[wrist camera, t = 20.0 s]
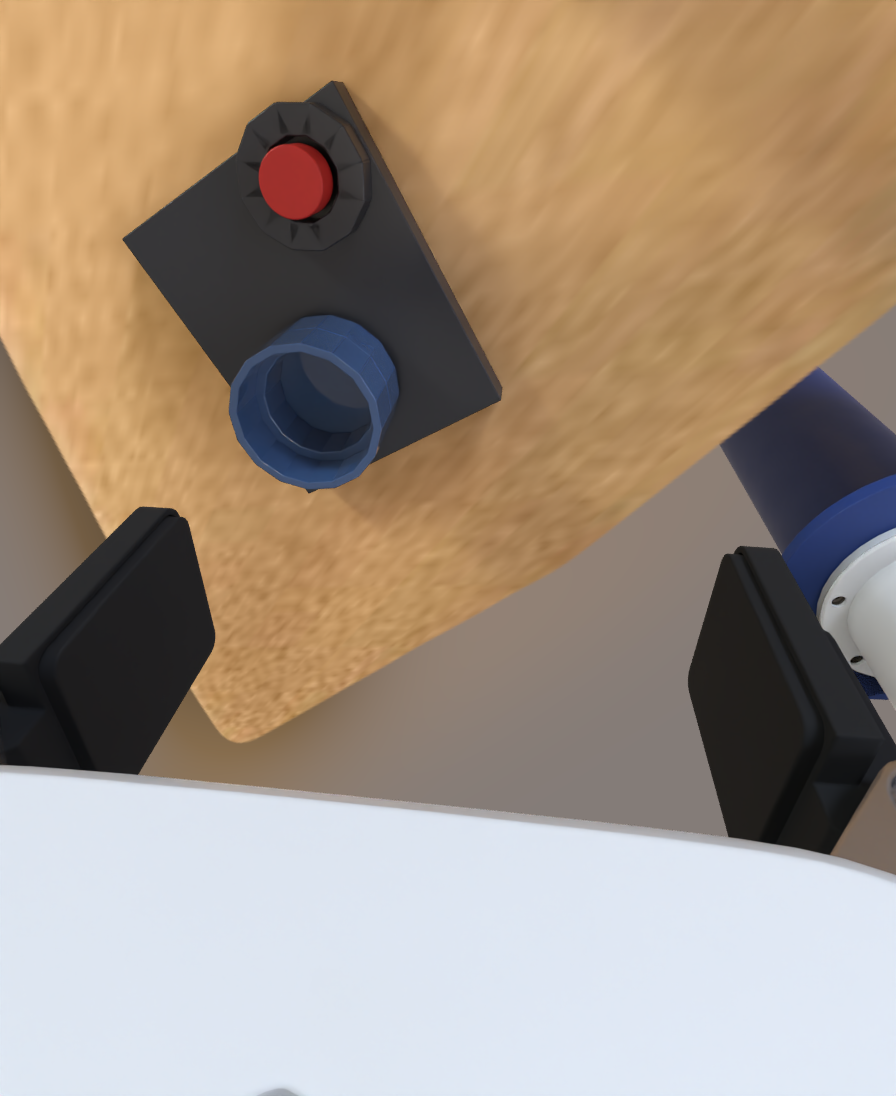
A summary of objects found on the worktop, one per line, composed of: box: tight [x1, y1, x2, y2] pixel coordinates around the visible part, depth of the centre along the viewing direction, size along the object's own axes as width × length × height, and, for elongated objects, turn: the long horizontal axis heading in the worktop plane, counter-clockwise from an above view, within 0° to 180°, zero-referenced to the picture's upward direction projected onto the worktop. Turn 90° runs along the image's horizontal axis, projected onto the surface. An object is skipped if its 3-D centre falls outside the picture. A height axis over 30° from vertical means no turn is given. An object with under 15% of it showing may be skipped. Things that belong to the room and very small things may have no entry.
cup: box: [229, 315, 399, 489], centre depth 33 cm, size 7×7×6 cm
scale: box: [123, 81, 502, 493], centre depth 34 cm, size 16×13×4 cm
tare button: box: [259, 143, 333, 220], centre depth 28 cm, size 3×3×2 cm
